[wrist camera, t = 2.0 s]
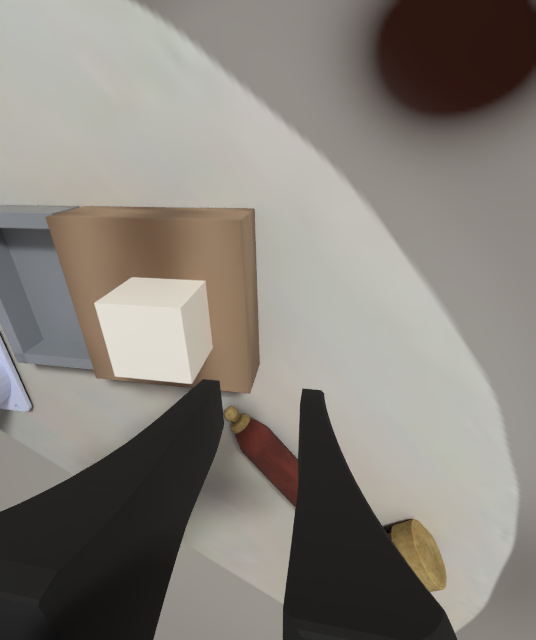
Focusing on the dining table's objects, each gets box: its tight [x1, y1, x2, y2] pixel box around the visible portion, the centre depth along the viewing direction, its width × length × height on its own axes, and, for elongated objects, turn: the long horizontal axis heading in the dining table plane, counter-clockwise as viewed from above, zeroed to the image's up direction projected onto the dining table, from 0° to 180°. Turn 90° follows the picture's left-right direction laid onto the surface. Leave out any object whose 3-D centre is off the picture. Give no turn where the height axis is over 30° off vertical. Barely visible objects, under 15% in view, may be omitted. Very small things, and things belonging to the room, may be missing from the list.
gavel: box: [224, 406, 446, 592], centre depth 26 cm, size 21×5×10 cm
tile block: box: [94, 277, 213, 384], centre depth 17 cm, size 4×4×3 cm
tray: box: [0, 205, 94, 370], centre depth 21 cm, size 6×10×2 cm, turn 0°
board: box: [46, 206, 260, 393], centre depth 20 cm, size 10×10×3 cm
